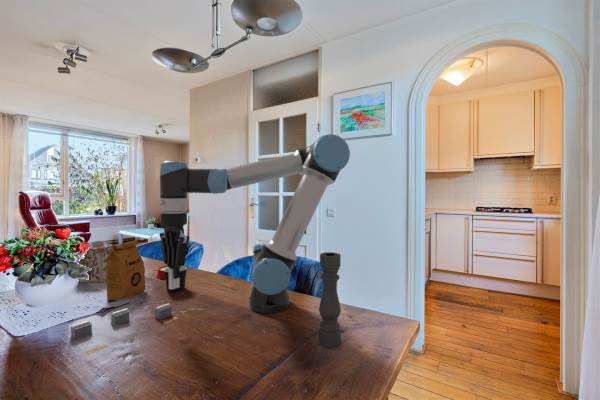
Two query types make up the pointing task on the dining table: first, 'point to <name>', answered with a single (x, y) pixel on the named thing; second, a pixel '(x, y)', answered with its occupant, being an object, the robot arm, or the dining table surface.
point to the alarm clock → (161, 272)
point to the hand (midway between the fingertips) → (174, 287)
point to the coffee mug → (182, 279)
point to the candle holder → (330, 301)
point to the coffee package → (124, 271)
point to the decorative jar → (96, 261)
